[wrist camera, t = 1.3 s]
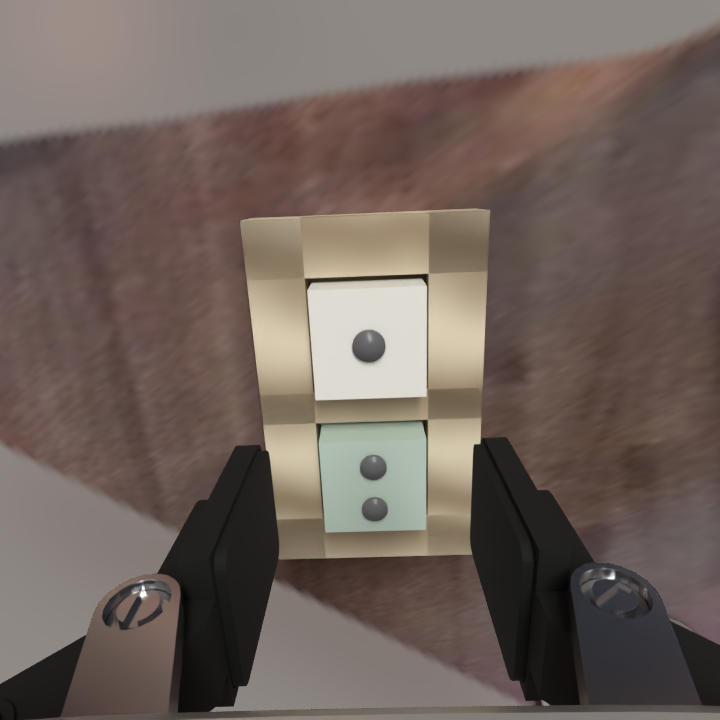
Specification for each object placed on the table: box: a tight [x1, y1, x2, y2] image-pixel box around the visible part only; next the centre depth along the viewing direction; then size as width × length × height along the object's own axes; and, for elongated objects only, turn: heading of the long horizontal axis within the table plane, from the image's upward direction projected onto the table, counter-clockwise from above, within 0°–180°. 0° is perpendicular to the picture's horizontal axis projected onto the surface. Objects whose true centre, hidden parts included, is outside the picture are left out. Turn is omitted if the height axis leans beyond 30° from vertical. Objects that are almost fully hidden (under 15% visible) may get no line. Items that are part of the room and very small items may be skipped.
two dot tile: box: [319, 421, 426, 533], centre depth 27 cm, size 6×6×2 cm
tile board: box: [240, 209, 490, 559], centre depth 28 cm, size 20×12×3 cm, turn 2°
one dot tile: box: [307, 278, 427, 400], centre depth 25 cm, size 6×6×2 cm
